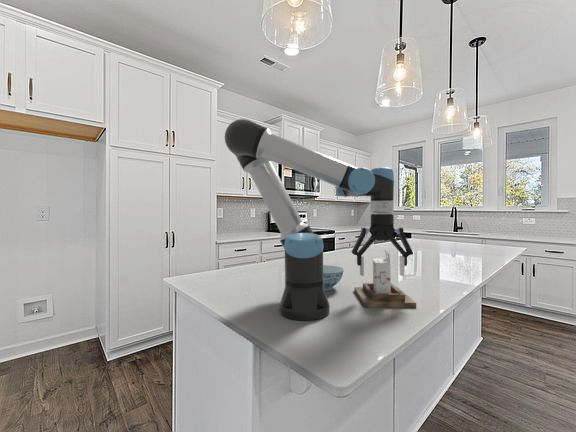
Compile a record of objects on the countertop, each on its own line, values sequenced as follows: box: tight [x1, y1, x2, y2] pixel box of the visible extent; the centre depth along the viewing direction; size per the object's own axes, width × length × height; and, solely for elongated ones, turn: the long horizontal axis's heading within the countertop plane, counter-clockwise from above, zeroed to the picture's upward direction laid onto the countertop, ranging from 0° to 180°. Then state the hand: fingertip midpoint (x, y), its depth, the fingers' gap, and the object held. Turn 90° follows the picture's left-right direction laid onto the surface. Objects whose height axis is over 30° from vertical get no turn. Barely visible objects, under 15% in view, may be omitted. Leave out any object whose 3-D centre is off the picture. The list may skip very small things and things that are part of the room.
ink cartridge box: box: [372, 249, 392, 294], centre depth 100 cm, size 9×5×15 cm, turn 171°
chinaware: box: [323, 264, 345, 292], centre depth 114 cm, size 15×15×8 cm
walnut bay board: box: [353, 282, 417, 309], centre depth 100 cm, size 16×18×4 cm
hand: (381, 275), depth 100 cm, fingers open, 13 cm apart
